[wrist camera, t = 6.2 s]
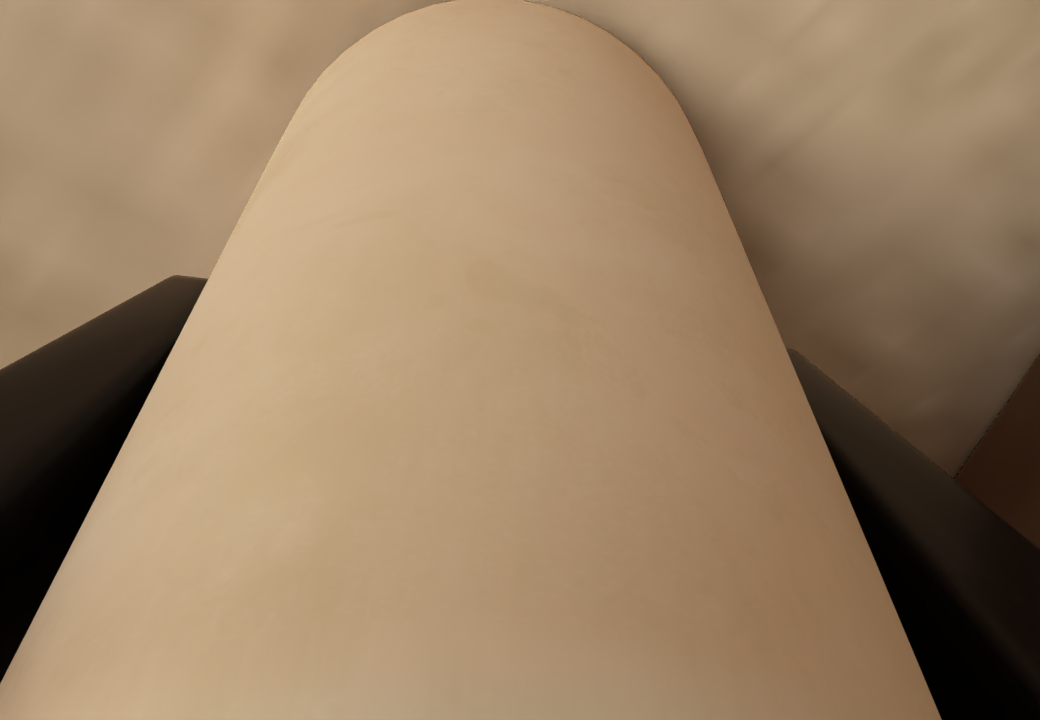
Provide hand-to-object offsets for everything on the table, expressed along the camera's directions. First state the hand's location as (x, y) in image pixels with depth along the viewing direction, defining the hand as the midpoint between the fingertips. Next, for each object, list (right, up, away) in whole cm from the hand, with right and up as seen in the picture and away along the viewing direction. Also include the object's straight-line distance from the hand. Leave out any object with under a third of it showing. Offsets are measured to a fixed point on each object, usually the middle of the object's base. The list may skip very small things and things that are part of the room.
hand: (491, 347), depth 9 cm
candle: (0, +2, +3) cm, 3 cm away
